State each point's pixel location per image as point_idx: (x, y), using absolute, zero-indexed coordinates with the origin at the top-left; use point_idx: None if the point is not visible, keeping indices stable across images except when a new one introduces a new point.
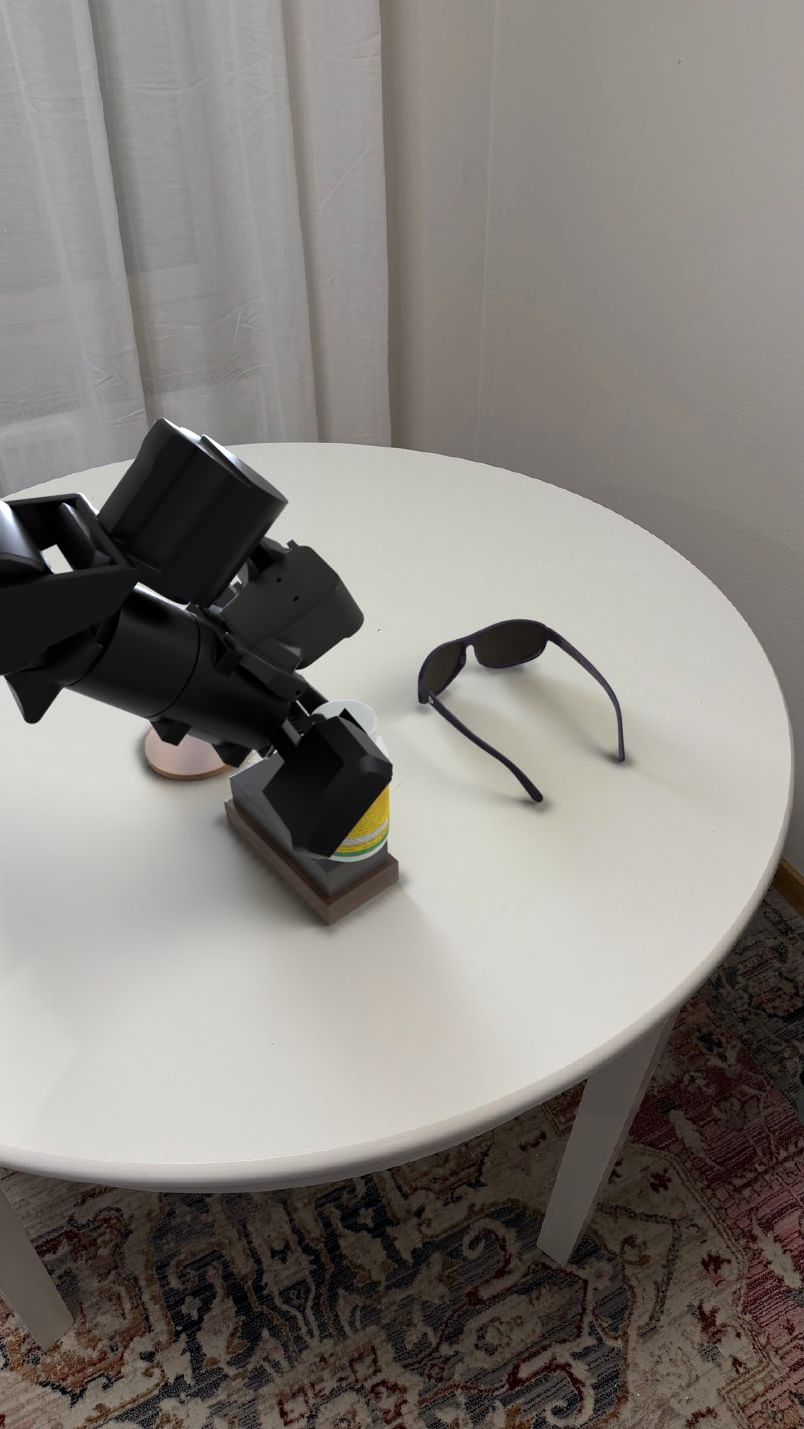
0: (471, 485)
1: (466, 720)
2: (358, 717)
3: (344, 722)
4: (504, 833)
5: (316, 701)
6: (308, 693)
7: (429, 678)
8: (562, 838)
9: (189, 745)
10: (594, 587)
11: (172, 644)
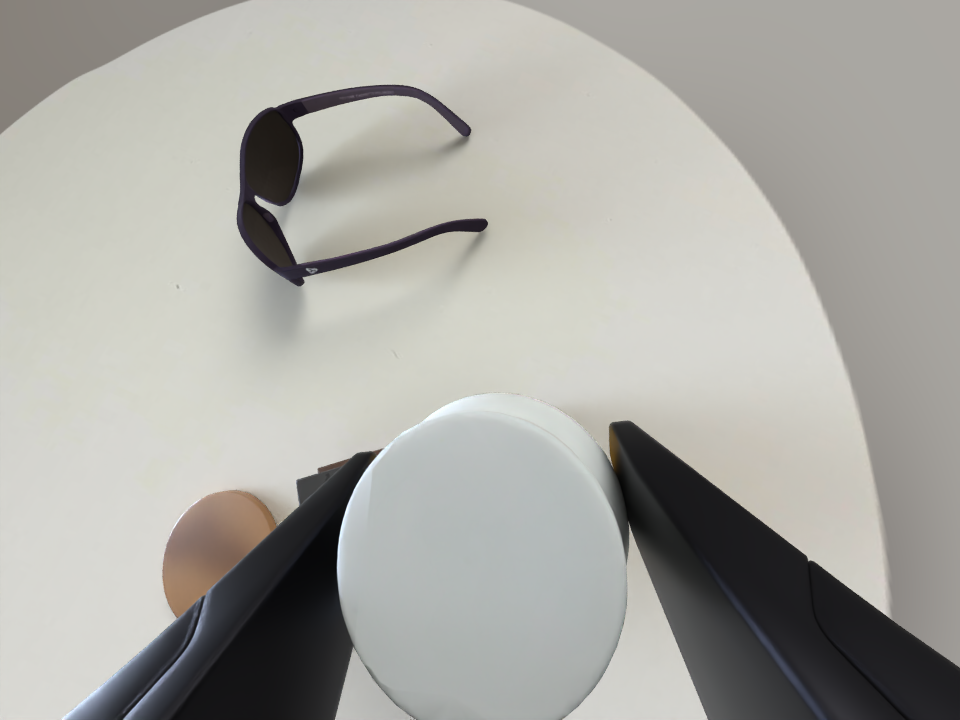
0: (50, 124)
1: (343, 252)
2: (477, 485)
3: None
4: (508, 276)
5: (300, 583)
6: (254, 639)
7: (274, 261)
8: (539, 226)
9: (220, 570)
10: (243, 73)
11: None
